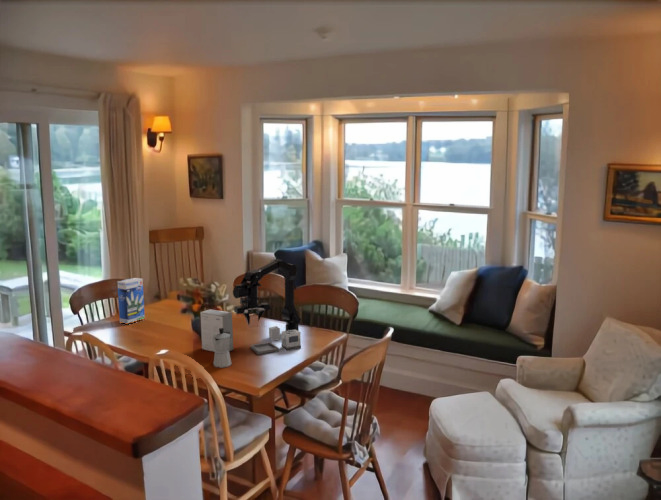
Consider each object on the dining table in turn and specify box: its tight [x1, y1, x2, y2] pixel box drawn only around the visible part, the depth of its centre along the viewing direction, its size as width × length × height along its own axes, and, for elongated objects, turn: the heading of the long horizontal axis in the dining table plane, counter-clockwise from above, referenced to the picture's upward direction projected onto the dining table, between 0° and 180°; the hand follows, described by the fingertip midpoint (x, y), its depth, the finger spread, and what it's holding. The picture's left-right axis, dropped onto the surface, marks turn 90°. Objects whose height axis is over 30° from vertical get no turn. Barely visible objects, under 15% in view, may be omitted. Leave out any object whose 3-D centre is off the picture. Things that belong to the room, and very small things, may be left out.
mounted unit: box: [281, 329, 302, 352], centre depth 294 cm, size 8×7×8 cm
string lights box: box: [116, 277, 146, 323], centre depth 338 cm, size 13×8×26 cm, turn 149°
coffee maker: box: [213, 328, 232, 369], centre depth 271 cm, size 15×9×18 cm, turn 164°
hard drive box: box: [199, 308, 234, 353], centre depth 290 cm, size 16×8×20 cm, turn 59°
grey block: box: [268, 325, 281, 341], centre depth 309 cm, size 4×4×6 cm
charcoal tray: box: [250, 341, 280, 356], centre depth 291 cm, size 11×11×2 cm
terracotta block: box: [246, 313, 259, 328], centre depth 300 cm, size 4×4×6 cm
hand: (252, 323), depth 300 cm, fingers closed on terracotta block, 4 cm apart
